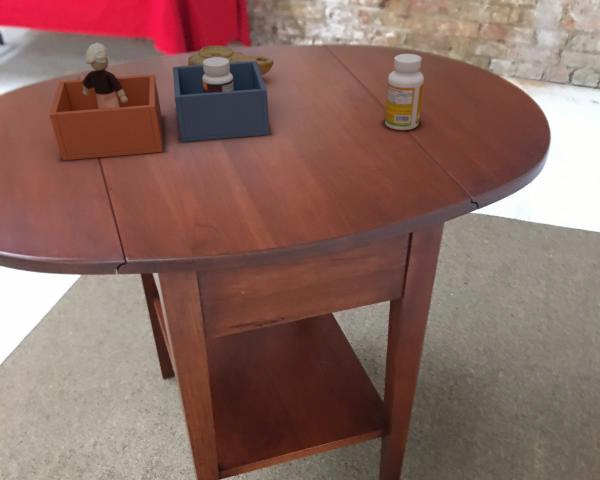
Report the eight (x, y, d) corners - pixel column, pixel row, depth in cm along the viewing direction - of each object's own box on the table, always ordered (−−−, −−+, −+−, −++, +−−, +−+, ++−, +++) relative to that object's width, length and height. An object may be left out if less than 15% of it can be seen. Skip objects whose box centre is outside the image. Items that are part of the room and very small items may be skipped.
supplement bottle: (403, 115, 103) (410, 49, 96) (425, 125, 100) (434, 58, 93) (377, 122, 101) (382, 56, 94) (399, 134, 98) (405, 66, 91)
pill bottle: (200, 118, 102) (193, 62, 96) (220, 109, 104) (214, 54, 99) (222, 125, 100) (216, 68, 94) (242, 116, 102) (237, 59, 96)
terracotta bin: (62, 160, 93) (49, 114, 89) (71, 124, 103) (59, 81, 98) (162, 152, 95) (154, 106, 90) (161, 117, 104) (154, 74, 100)
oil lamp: (276, 84, 114) (275, 53, 111) (198, 94, 111) (194, 64, 107) (260, 65, 121) (258, 36, 118) (186, 75, 118) (182, 45, 115)
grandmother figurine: (142, 130, 99) (125, 40, 90) (132, 140, 96) (114, 49, 87) (96, 127, 100) (75, 38, 91) (86, 136, 98) (62, 46, 89)
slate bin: (181, 142, 97) (174, 97, 92) (179, 108, 107) (172, 66, 102) (269, 134, 98) (266, 90, 94) (259, 102, 108) (256, 60, 103)
